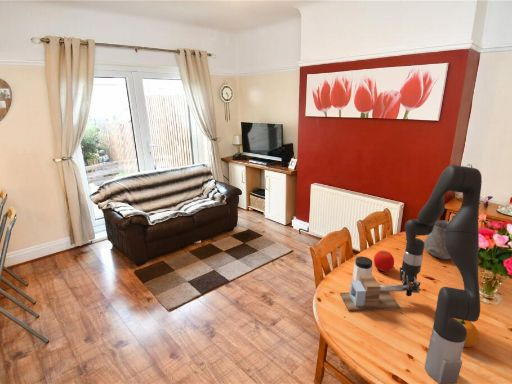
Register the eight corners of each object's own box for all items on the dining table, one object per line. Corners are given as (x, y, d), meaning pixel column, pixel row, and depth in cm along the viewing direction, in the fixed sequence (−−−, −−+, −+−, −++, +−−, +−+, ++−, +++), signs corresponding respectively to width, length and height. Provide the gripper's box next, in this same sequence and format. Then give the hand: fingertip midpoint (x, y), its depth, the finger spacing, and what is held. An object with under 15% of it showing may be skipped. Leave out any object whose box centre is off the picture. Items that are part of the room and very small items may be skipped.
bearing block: (400, 309, 134) (404, 287, 131) (348, 311, 133) (351, 289, 129) (388, 292, 146) (391, 272, 142) (340, 294, 144) (342, 274, 141)
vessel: (411, 251, 185) (416, 221, 179) (433, 243, 195) (438, 215, 189) (446, 267, 167) (453, 235, 161) (468, 258, 177) (475, 227, 171)
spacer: (364, 305, 135) (366, 291, 133) (355, 306, 135) (357, 291, 132) (357, 294, 143) (359, 280, 140) (349, 295, 142) (351, 280, 140)
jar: (362, 287, 150) (365, 266, 146) (349, 279, 156) (351, 259, 153) (373, 281, 155) (376, 261, 151) (360, 274, 161) (362, 254, 158)
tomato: (390, 265, 169) (393, 248, 166) (394, 275, 160) (397, 257, 156) (371, 263, 172) (373, 246, 169) (373, 272, 162) (376, 255, 159)
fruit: (434, 333, 120) (439, 313, 117) (453, 325, 125) (458, 305, 122) (463, 355, 110) (469, 333, 107) (483, 345, 115) (489, 324, 112)
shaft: (413, 288, 141) (414, 280, 140) (418, 294, 137) (420, 286, 135) (363, 290, 140) (364, 281, 139) (367, 296, 136) (369, 288, 134)
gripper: (429, 269, 127) (422, 302, 132) (411, 252, 140) (406, 284, 146) (412, 269, 127) (406, 303, 132) (396, 253, 140) (391, 284, 145)
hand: (406, 293), depth 139 cm, fingers closed on shaft, 3 cm apart
